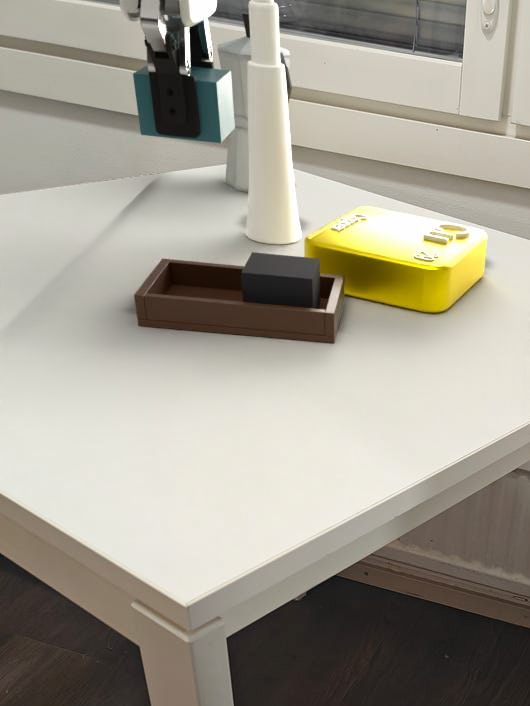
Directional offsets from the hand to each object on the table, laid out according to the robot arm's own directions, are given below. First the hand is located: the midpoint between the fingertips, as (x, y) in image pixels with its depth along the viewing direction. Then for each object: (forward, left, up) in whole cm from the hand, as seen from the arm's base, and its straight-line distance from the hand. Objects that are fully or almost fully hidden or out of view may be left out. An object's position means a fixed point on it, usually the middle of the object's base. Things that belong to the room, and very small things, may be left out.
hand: (188, 124), depth 69 cm
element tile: (+16, +14, -15) cm, 26 cm away
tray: (+3, +1, -15) cm, 15 cm away
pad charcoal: (+7, +1, -14) cm, 16 cm away
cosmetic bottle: (+2, +24, -15) cm, 29 cm away
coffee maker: (-2, +43, -15) cm, 46 cm away
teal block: (0, 0, 0) cm, 1 cm away
